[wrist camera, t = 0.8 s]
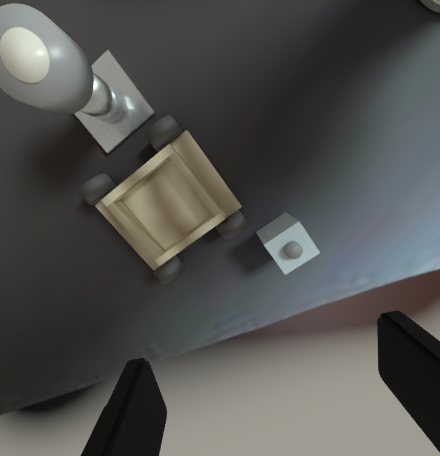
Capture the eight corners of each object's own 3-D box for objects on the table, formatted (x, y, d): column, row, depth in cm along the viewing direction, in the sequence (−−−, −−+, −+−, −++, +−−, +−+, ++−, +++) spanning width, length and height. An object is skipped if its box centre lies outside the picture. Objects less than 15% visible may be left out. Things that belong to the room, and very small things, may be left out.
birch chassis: (178, 117, 26) (171, 108, 23) (249, 216, 30) (253, 223, 26) (88, 193, 29) (68, 196, 25) (163, 276, 32) (156, 291, 29)
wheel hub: (56, 15, 17) (17, -23, 13) (109, 85, 18) (85, 66, 15) (7, 67, 18) (-41, 44, 14) (61, 130, 19) (29, 121, 16)
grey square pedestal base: (110, 52, 25) (77, 16, 19) (155, 113, 26) (137, 97, 21) (63, 98, 26) (18, 77, 20) (109, 153, 28) (80, 149, 22)
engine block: (285, 212, 30) (301, 222, 24) (302, 238, 31) (323, 255, 25) (256, 232, 31) (265, 247, 25) (274, 257, 32) (287, 278, 26)
